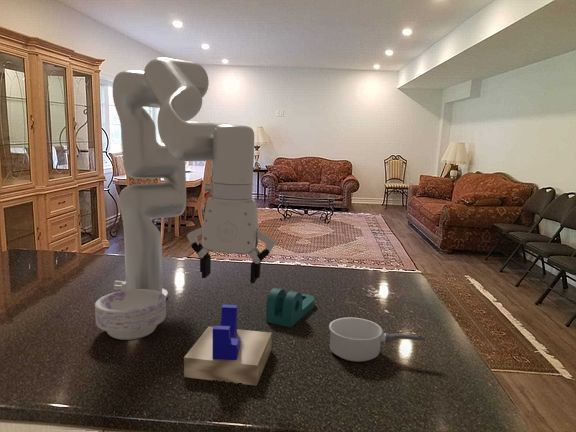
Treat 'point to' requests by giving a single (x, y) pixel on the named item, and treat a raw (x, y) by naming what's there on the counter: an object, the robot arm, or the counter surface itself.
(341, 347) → the saucepan
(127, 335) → the paper bowls
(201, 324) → the counter surface
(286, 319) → the bracket
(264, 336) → the plate
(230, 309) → the blue stepped block
